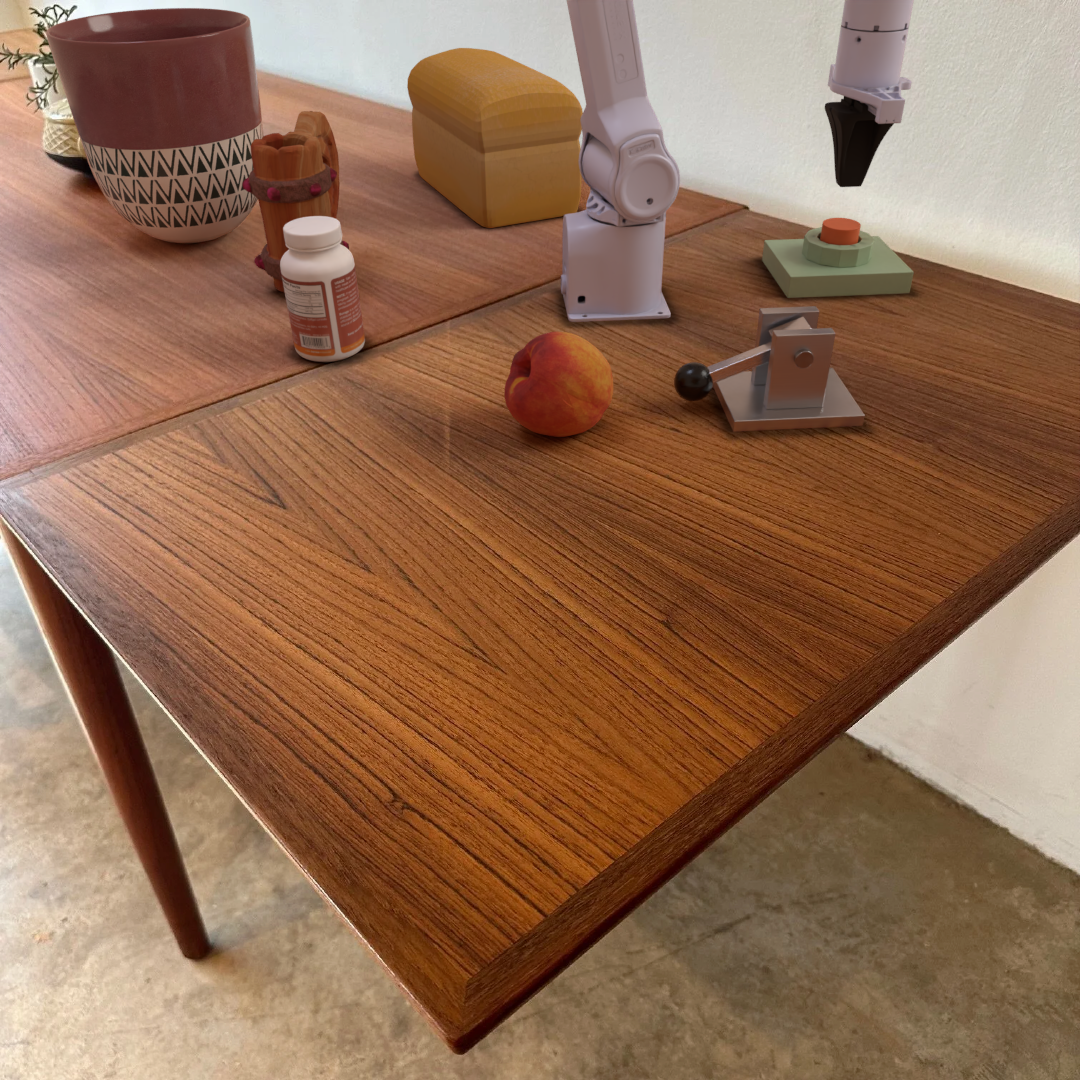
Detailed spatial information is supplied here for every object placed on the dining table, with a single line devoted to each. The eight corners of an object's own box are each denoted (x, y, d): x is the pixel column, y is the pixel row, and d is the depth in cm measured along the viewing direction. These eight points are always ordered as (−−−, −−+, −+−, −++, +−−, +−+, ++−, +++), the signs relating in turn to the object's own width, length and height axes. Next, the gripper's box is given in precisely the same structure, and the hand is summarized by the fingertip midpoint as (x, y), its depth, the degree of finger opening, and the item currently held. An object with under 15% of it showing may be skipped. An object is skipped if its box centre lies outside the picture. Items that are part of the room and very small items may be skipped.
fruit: (509, 404, 80) (506, 310, 76) (610, 405, 80) (614, 310, 75) (503, 456, 74) (500, 357, 69) (613, 456, 74) (617, 357, 69)
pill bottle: (353, 328, 92) (337, 207, 86) (375, 355, 88) (359, 229, 81) (287, 342, 90) (265, 219, 84) (305, 370, 86) (284, 242, 79)
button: (826, 248, 97) (829, 230, 96) (815, 235, 100) (818, 218, 99) (862, 247, 97) (865, 229, 96) (850, 234, 100) (853, 216, 99)
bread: (584, 213, 117) (586, 74, 108) (482, 230, 113) (475, 87, 104) (503, 160, 135) (499, 37, 126) (413, 173, 131) (402, 47, 122)
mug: (328, 308, 96) (304, 145, 87) (249, 302, 97) (218, 141, 88) (378, 254, 108) (362, 105, 99) (307, 249, 109) (284, 102, 100)
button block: (787, 298, 97) (793, 258, 94) (761, 260, 105) (766, 222, 102) (909, 293, 97) (918, 253, 95) (874, 256, 105) (881, 218, 103)
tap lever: (684, 414, 77) (672, 382, 76) (677, 395, 80) (665, 364, 78) (821, 360, 76) (812, 326, 74) (810, 343, 78) (801, 310, 76)
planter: (65, 254, 109) (0, 35, 96) (181, 200, 123) (137, 4, 111) (214, 277, 103) (165, 48, 90) (317, 217, 117) (287, 12, 104)
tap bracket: (732, 435, 76) (743, 346, 72) (711, 385, 82) (719, 301, 78) (862, 429, 76) (880, 340, 72) (830, 380, 83) (845, 296, 79)
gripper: (952, 40, 82) (918, 207, 90) (890, 11, 93) (864, 161, 102) (867, 43, 81) (840, 210, 90) (816, 13, 93) (796, 163, 101)
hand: (848, 184), depth 96 cm, fingers closed
